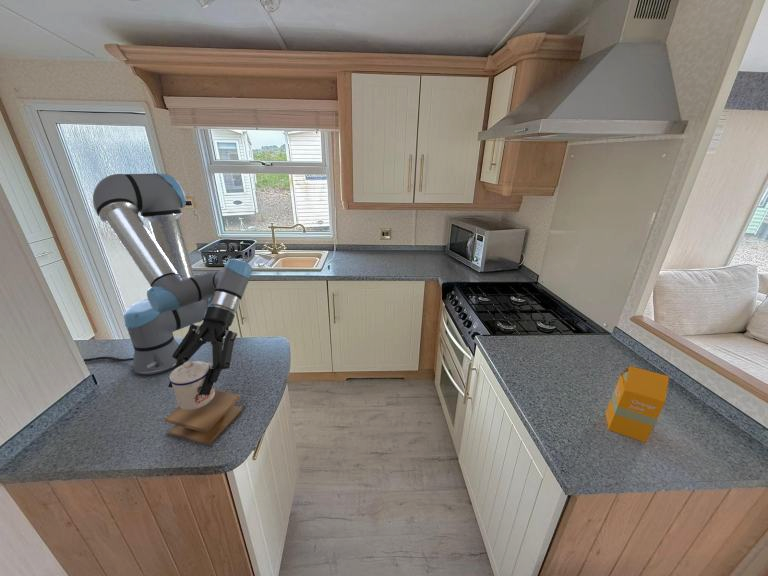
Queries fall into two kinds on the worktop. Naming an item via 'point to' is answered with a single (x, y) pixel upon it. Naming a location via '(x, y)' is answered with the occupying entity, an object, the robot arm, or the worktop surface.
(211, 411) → the cup stand
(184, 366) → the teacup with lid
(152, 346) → the robot arm
